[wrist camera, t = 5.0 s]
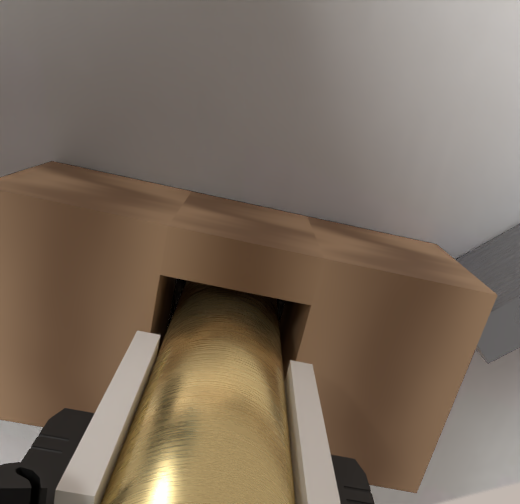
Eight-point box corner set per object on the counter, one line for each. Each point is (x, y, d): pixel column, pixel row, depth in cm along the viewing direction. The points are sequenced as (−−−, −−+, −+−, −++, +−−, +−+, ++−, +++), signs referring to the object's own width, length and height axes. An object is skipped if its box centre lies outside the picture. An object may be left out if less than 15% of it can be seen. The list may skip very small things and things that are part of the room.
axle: (178, 323, 24) (36, 733, 8) (193, 241, 22) (57, 549, 7) (264, 340, 24) (276, 764, 9) (285, 259, 23) (340, 595, 7)
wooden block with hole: (37, 337, 24) (-33, 413, 18) (52, 161, 21) (-25, 185, 15) (380, 403, 25) (416, 492, 19) (436, 244, 22) (497, 294, 17)
